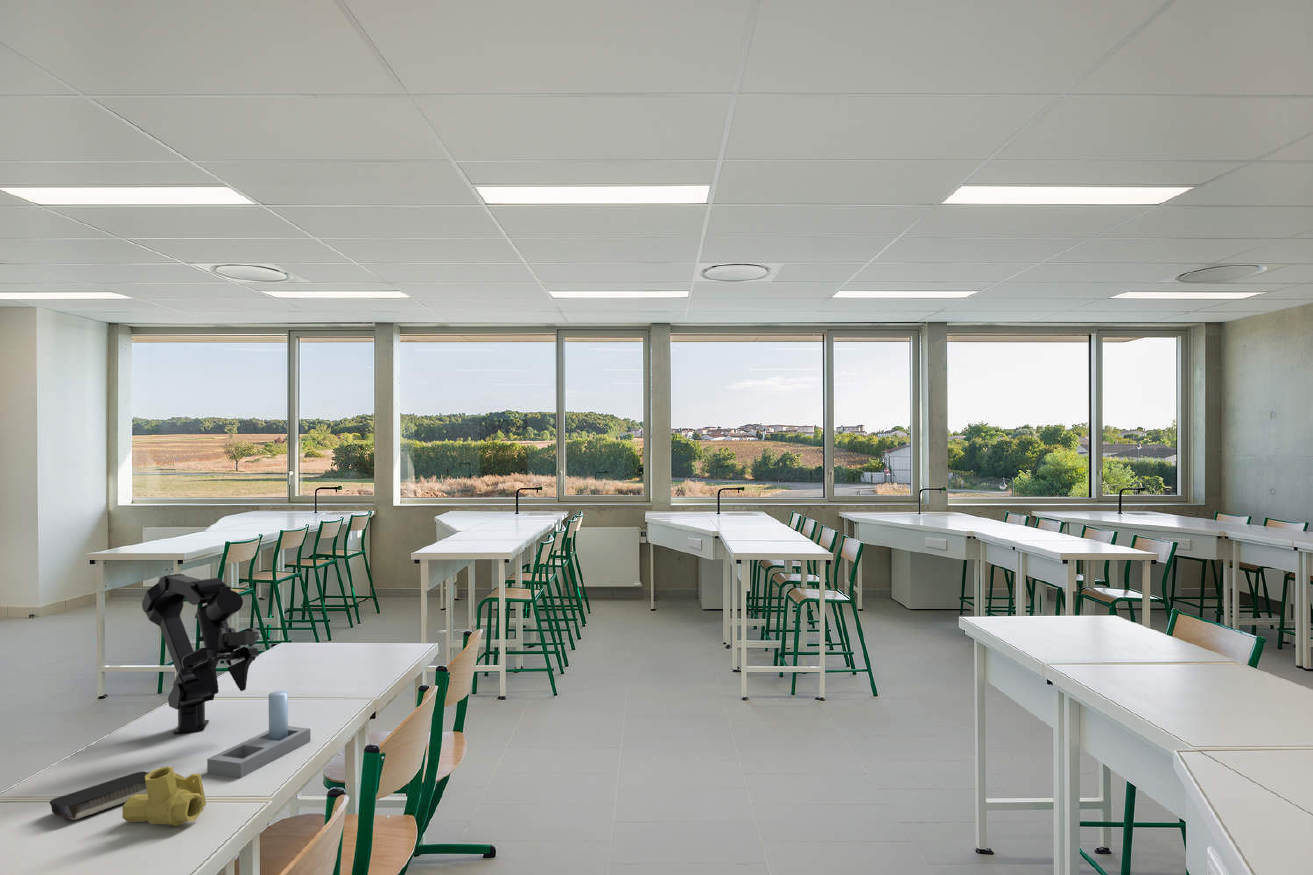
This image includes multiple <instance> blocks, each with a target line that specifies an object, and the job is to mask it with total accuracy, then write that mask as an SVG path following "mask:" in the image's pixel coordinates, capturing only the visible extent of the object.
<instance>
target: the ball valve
mask: <svg viewBox="0 0 1313 875" xmlns="http://www.w3.org/2000/svg"><path fill="white" fill-rule="evenodd" d="M201 775H202V774H201V773H192V774H191V775H189V776H187V777H185V776H182V775H181V774H179V773H177V772H175V771H174V766H162V767H160V768H157V769H154V770H152V771H149V774H147V775H146V776H145V782H146V788H147V793H148V794H137V795H134V796H131V797H129V799H128V800H127V801H126V802H124V804H123V806H122V819H123V820H125V821H126V822H127V823H144V822H146V823H147V822H148V823H149V824H152V825H169V826H174V827H177V826H181V825H182V824H184V823H185V822H192V821H196V820H197V819H198V818H199V816H200V814H202V812H203V811H204V808H205V807H206V805H207V802H206V801H207V800H206V797H205V796H206V795H205V791H204V786H203V780H202V776H201Z"/></svg>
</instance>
